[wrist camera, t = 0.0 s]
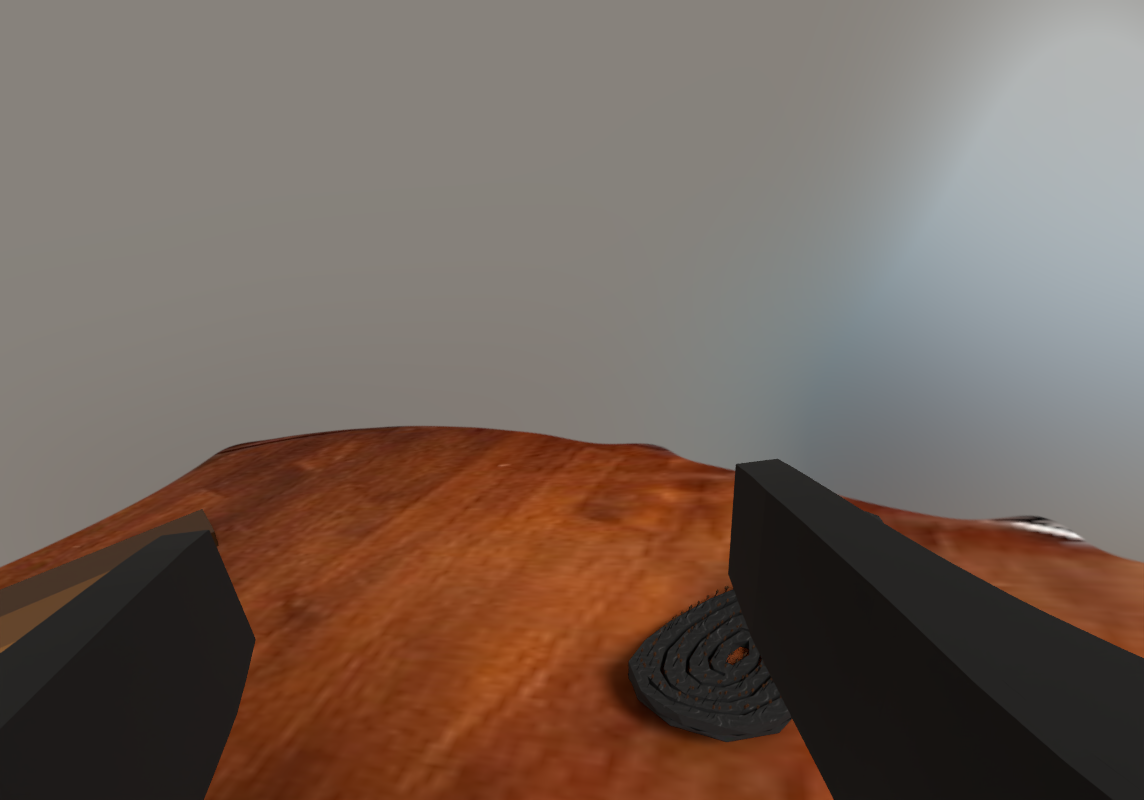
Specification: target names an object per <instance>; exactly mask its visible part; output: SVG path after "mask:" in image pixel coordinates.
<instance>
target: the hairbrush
mask: <svg viewBox="0 0 1144 800" xmlns="http://www.w3.org/2000/svg"><path fill="white" fill-rule="evenodd" d="M866 513H868V514H869V515H871V516H872V517H874V518H876V519H877V520H879V521H881V522H882V520H881V519H880V517H879V516H877V515H874V514H871V513H869V512H866ZM882 523H883V522H882ZM728 588H729V587H728V586H727V589H728ZM725 589H726V586H725ZM727 589H726V590H727ZM716 592H717V593H718V590H717V591H716ZM725 592H726V591H725ZM717 593H716V594H717ZM715 596H716V595H715ZM708 597H709V595H708V596H707V599H708ZM707 599H706V600H707ZM699 603H700V601H698V604H699ZM698 604H697V606H696V607H694V608H693V609H692V605H691V606H690V607H689V610H688V611H687V612H686V613H684V614H683V612H681V615H680V616H678V617H677V615H676V616H675V619H674V617H673V618H672V620H671V621H670V622H668V623H666V625H664V626H663V627H662V628H660V629H659V630H658V631H656V632H655V633H654V634H653V635H651V636H650V637H649V638H647V639H646V640H645V641H644V642H643V644H642V645H641V646H640V647H639V649H638V650H637V651H636V653H635V654H634V655H633V657H632V658H631V659H630V660H629V673H628V675H629V680H630V681H631V683H632V685H633V687H634V690H635V693H636V696H637V699H638V700H639V701H641V702H642V703H643V704H644V705H646V706H647V707H648V708H649V709H650V710H652V711H653V712H654V713H655V714H657V715H658V716H659V717H660V718H662V719H663V720H664V721H665V722H667V723H668V724H669V725H671V726H674V727H677V728H681V729H684V730H688V731H691V732H694V733H698V734H701V735H704V736H708V737H711V738H715V739H718V740H721V741H725V742H730V741H736V740H741V739H747V738H753V737H758V736H764V735H770V734H775V733H779V732H780V731H781V730H782V729H783V728H784V727H785V726H786V725H787V723H788V722H789V721H790V720H791V719H792V718H791V715H790V713H789V711H788V709H787V707H786V705H785V703H784V701H783V699H782V697H781V695H780V693H779V692H778V690H777V688H776V686H775V684H774V682H773V680H772V678H771V676H770V674H769V672H768V670H767V668H766V666H765V664H764V662H763V660H762V661H761V664H760V665H759V666H758V667H757V665H758V662H759V658H760V654H759V652H758V650H757V648H756V646H755V644H754V642H753V640H752V637H751V635H750V632H749V630H748V627H747V624H746V622H745V619H744V616H743V614H742V611H741V608H740V606H739V603H738V600H737V597H736V594H735V591H734V589H733V590H730V591H728V592H726V593H723V594H721V595H718V596H716V597H713V598H711V599H709V600H707V601H705V602H703V603H702V604H700V605H698ZM690 609H691V610H690ZM740 646H741V647H744V648H748V649H749V655H748V656H746V654H747V652H745V654H743V658H742V660H740V661H739V662H738V659H737V660H736V663H735V664H734V665H731V664H729V663H727V662H728V660H729V659H728V660H727V658H728V657H729V656H728V655H729V654H731V655H733V651H735V650H736V649H737V648H739V647H740ZM696 648H697V649H696ZM695 649H696V650H695ZM694 650H695V652H694ZM716 650H717V651H716ZM693 652H694V653H693ZM692 653H693V655H692ZM691 655H692V656H691ZM713 655H714V656H713ZM690 656H691V658H690ZM745 656H746V657H745ZM710 657H711V658H712V657H713V658H712V660H711V658H710ZM744 657H745V658H744ZM689 658H690V659H689ZM709 658H710V660H709V662H708V659H709ZM688 659H689V660H690V661H688ZM726 660H727V662H726ZM664 663H665V666H664V676H663V675H662V673H661V668H662V666H663V665H664ZM709 663H711V669H710V668H709ZM688 664H689V668H690V669H689V673H688V674H689V675H688V674H687V669H688ZM756 667H757V668H756ZM755 668H756V669H755Z"/></svg>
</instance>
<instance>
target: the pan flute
mask: <svg viewBox="0 0 1144 800" xmlns="http://www.w3.org/2000/svg"><path fill="white" fill-rule="evenodd" d="M202 530H210V533H211V535H212V537H213V540H214V542H215V545H216V547H217V546H218V543H217V539H216V535H215V531H214V530H213V528H212V526H211V524H210V522H209V520H208V519H207V517H206V515H205V513H204V511H203V510H202V509H201V510H199V511H196V512H194V513H191V514H189V515H186V516H184V517H181V518H179V519H176V520H174V521H171V522H169V523H166V524H164V525H161V526H159V527H156V528H154V529H151V530H149V531H146V532H144V533H141V534H139V535H136V536H134V537H131V538H129V539H126V540H124V541H121V542H119V543H116V544H114V545H111V546H109V547H106V548H104V549H101V550H99V551H96V552H94V553H91V554H89V555H86V556H84V557H81V558H79V559H76V560H74V561H71V562H69V563H66V564H64V565H61V566H59V567H56V568H54V569H51V570H49V571H46V572H44V573H41V574H39V575H36V576H34V577H31V578H29V579H26V580H24V581H21V582H19V583H16V584H14V585H11V586H9V587H6V588H4V589H1V590H0V653H1V652H3V651H4V650H5V649H7V648H8V647H9V646H11V645H12V644H13V643H15V642H16V641H17V640H19V639H20V638H21V637H23V636H24V635H25V634H27V633H28V632H29V631H31V630H32V629H33V628H35V627H36V626H37V625H39V624H40V623H41V622H43V621H44V620H45V619H47V618H48V617H49V616H51V615H52V614H53V613H55V612H56V611H57V610H59V609H60V608H61V607H63V606H64V605H65V604H67V603H68V602H69V601H71V600H72V599H73V598H75V597H76V596H77V595H79V594H80V593H81V592H83V591H84V590H85V589H87V588H88V587H89V586H91V585H92V584H93V583H95V582H96V581H97V580H99V579H100V578H101V577H103V576H104V575H105V574H107V573H108V572H109V571H111V570H112V569H113V568H115V567H116V566H118V565H119V564H120V563H122V562H123V561H124V560H126V559H127V558H129V557H130V556H131V555H133V554H134V553H136V552H137V551H139V550H140V549H142V548H143V547H144V546H146V545H148V544H149V543H151V542H152V541H154V540H155V539H157V538H159V537H160V536H162V535H170V534H178V533H186V532H194V531H202Z"/></svg>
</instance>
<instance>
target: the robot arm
mask: <svg viewBox="0 0 1144 800" xmlns="http://www.w3.org/2000/svg"><path fill="white" fill-rule="evenodd" d="M728 574H729V577H730V580H731V583H732V586H733V588H734V591H735V594H736V597H737V600H738V603H739V606H740V608H741V611H742V614H743V616H744V619H745V622H746V624H747V627H748V630H749V632H750V635H751V637H752V640H753V642H754V644H755V646H756V648H757V650H758V652H759V654H760V656H761V658H762V660H763V662H764V664H765V666H766V668H767V670H768V672H769V674H770V676H771V678H772V680H773V682H774V684H775V686H776V688H777V690H778V692H779V693H780V695H781V697H782V699H783V701H784V703H785V705H786V707H787V709H788V711H789V713H790V715H791V717H792V719H793V721H794V723H795V725H796V727H797V728H798V730H799V732H800V734H801V736H802V738H803V740H804V742H805V744H806V746H807V748H808V750H809V752H810V754H811V756H812V758H813V760H814V762H815V764H816V765H817V767H818V769H819V771H820V773H821V775H822V777H823V779H824V781H825V783H826V785H827V787H828V789H829V791H830V793H831V795H832V797H833V799H834V800H1144V658H1142V657H1140V656H1137V655H1135V654H1133V653H1131V652H1128V651H1126V650H1124V649H1122V648H1120V647H1118V646H1115V645H1113V644H1111V643H1109V642H1107V641H1105V640H1103V639H1101V638H1098V637H1096V636H1094V635H1092V634H1090V633H1088V632H1086V631H1083V630H1081V629H1079V628H1077V627H1075V626H1073V625H1071V624H1069V623H1066V622H1064V621H1062V620H1060V619H1058V618H1056V617H1054V616H1052V615H1049V614H1047V613H1045V612H1043V611H1041V610H1039V609H1037V608H1035V607H1033V606H1031V605H1029V604H1027V603H1025V602H1023V601H1021V600H1020V599H1018V598H1016V597H1014V596H1012V595H1010V594H1008V593H1006V592H1004V591H1002V590H1000V589H999V588H997V587H995V586H993V585H991V584H989V583H987V582H986V581H984V580H982V579H980V578H978V577H976V576H975V575H973V574H971V573H969V572H967V571H965V570H963V569H962V568H960V567H958V566H956V565H954V564H952V563H951V562H949V561H947V560H945V559H944V558H942V557H940V556H938V555H937V554H935V553H933V552H931V551H930V550H928V549H926V548H924V547H923V546H921V545H919V544H917V543H916V542H914V541H912V540H911V539H909V538H907V537H906V536H904V535H902V534H901V533H899V532H897V531H896V530H894V529H892V528H891V527H889V526H887V525H886V524H884V523H882V522H881V521H879V520H877V519H876V518H874V517H872V516H871V515H869V514H868V513H866V512H864V511H863V510H861V509H859V508H858V507H856V506H855V505H853V504H851V503H850V502H848V501H847V500H845V499H843V498H842V497H840V496H839V495H837V494H835V493H834V492H832V491H831V490H829V489H827V488H826V487H824V486H822V485H821V484H819V483H817V482H816V481H814V480H813V479H811V478H810V477H808V476H806V475H805V474H803V473H801V472H800V471H798V470H796V469H795V468H793V467H791V466H790V465H788V464H786V463H784V462H782V461H781V460H779V459H773V460H765V461H757V462H749V463H741V464H736V470H735V485H734V499H733V514H732V528H731V542H730V557H729V571H728ZM255 640H256V639H255V637H254V634H253V632H252V630H251V627H250V625H249V623H248V620H247V618H246V615H245V613H244V611H243V608H242V606H241V604H240V601H239V599H238V597H237V594H236V592H235V589H234V587H233V585H232V582H231V580H230V578H229V575H228V573H227V571H226V568H225V566H224V563H223V561H222V559H221V556H220V554H219V552H218V549H217V547H216V545H215V542H214V540H213V537H212V535H211V533H210V530H202V531H194V532H186V533H178V534H170V535H162V536H160V537H159V538H157V539H155V540H154V541H152V542H151V543H149V544H148V545H146V546H144V547H143V548H142V549H140V550H139V551H137V552H136V553H134V554H133V555H131V556H130V557H129V558H127V559H126V560H124V561H123V562H122V563H120V564H119V565H118V566H116V567H115V568H113V569H112V570H111V571H109V572H108V573H107V574H105V575H104V576H103V577H101V578H100V579H99V580H97V581H96V582H95V583H93V584H92V585H91V586H89V587H88V588H87V589H85V590H84V591H83V592H81V593H80V594H79V595H77V596H76V597H75V598H73V599H72V600H71V601H69V602H68V603H67V604H65V605H64V606H63V607H61V608H60V609H59V610H57V611H56V612H55V613H53V614H52V615H51V616H49V617H48V618H47V619H45V620H44V621H43V622H41V623H40V624H39V625H37V626H36V627H35V628H33V629H32V630H31V631H29V632H28V633H27V634H25V635H24V636H23V637H21V638H20V639H19V640H17V641H16V642H15V643H13V644H12V645H11V646H9V647H8V648H7V649H5V650H4V651H3V652H1V653H0V800H204V798H205V795H206V793H207V790H208V788H209V785H210V783H211V780H212V778H213V775H214V772H215V770H216V767H217V765H218V762H219V760H220V757H221V754H222V752H223V749H224V747H225V744H226V742H227V739H228V736H229V734H230V731H231V728H232V726H233V723H234V720H235V718H236V715H237V712H238V708H239V704H240V701H241V697H242V693H243V689H244V686H245V682H246V678H247V674H248V670H249V665H250V661H251V657H252V652H253V648H254V644H255Z"/></svg>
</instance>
